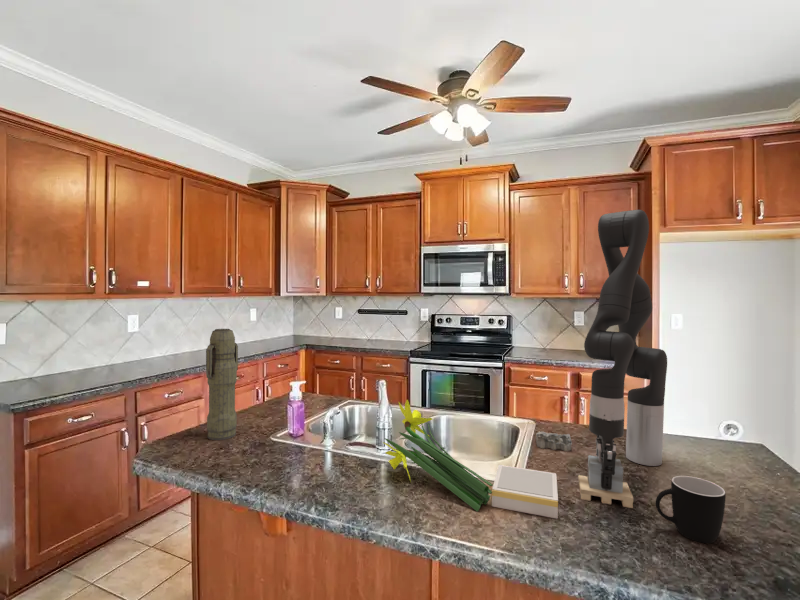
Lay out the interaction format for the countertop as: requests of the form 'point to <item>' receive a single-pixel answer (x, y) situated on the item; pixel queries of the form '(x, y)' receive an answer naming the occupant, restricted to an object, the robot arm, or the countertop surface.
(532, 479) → the dock
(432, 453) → the daffodil flowers
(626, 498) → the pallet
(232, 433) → the thermos
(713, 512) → the mug
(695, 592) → the countertop surface
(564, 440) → the egg carton
